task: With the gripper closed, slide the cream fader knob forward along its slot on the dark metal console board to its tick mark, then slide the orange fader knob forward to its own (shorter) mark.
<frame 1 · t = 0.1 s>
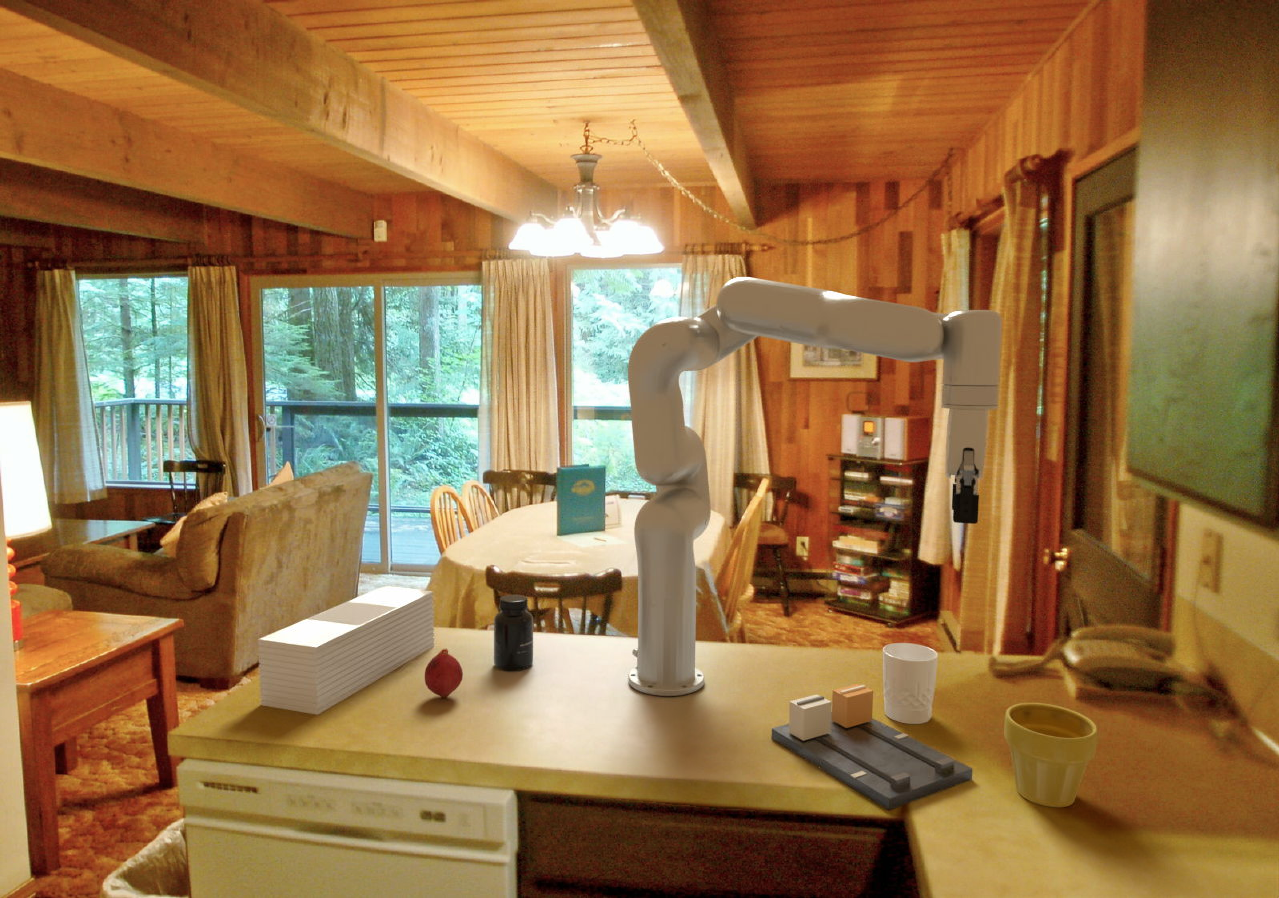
hand: (964, 516, 122), 31 cm above the kitchen counter, tool pointing down, fingers open, 9 cm apart
white cup: (907, 716, 128), on the kitchen counter
fader a: (810, 715, 118), point 4 cm above the kitchen counter, slide at 0.0 cm
stack of papers: (355, 675, 144), on the kitchen counter
fader b: (852, 704, 122), point 4 cm above the kitchen counter, slide at 0.0 cm
supplement bottle: (513, 665, 148), on the kitchen counter
onion: (444, 698, 134), on the kitchen counter
plant pot: (1045, 795, 106), on the kitchen counter
console board: (866, 757, 115), on the kitchen counter
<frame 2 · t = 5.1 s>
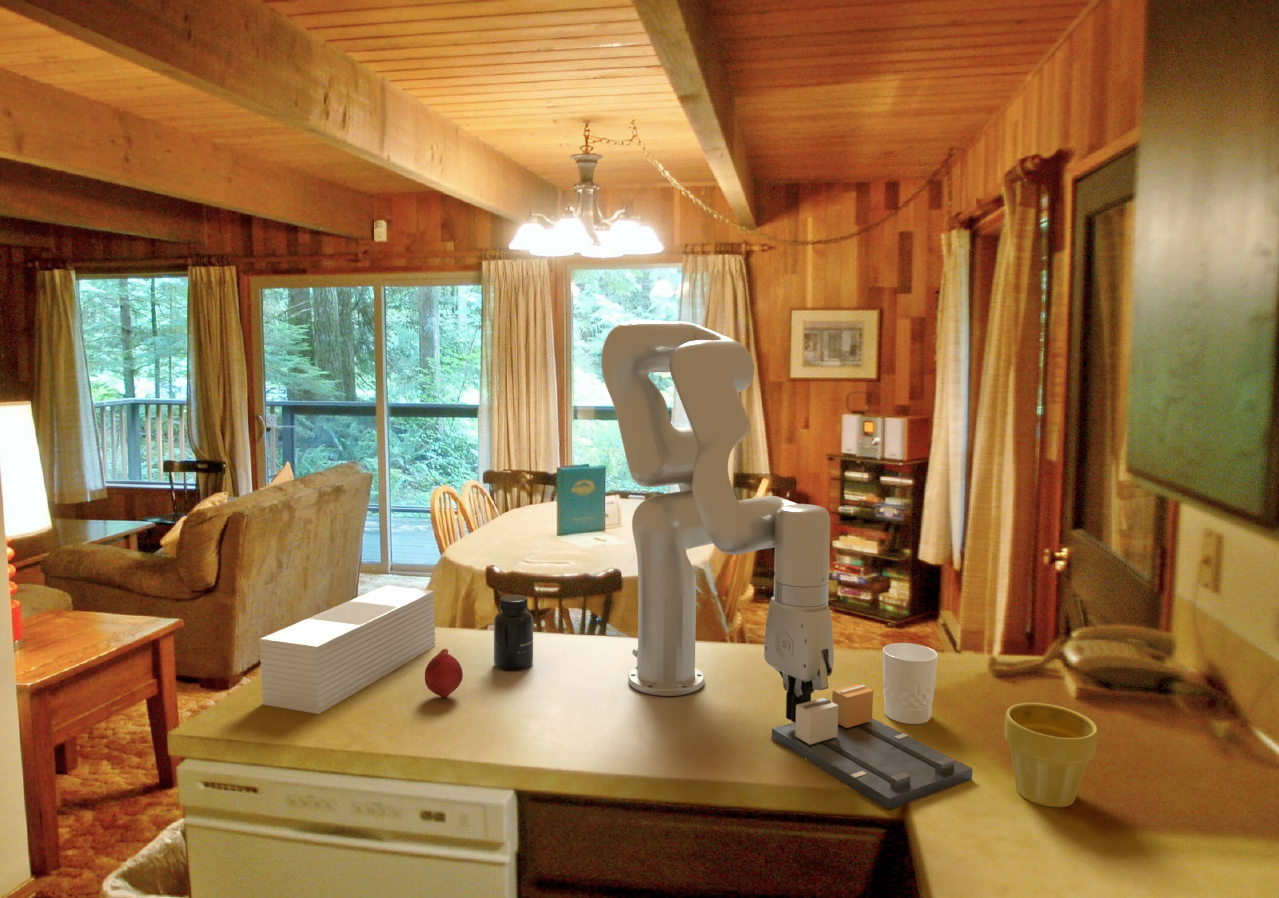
hand: (798, 718, 121), 3 cm above the kitchen counter, tool pointing down, fingers closed
fader a: (816, 719, 117), point 4 cm above the kitchen counter, slide at 1.4 cm, touching gripper
everything else where it was.
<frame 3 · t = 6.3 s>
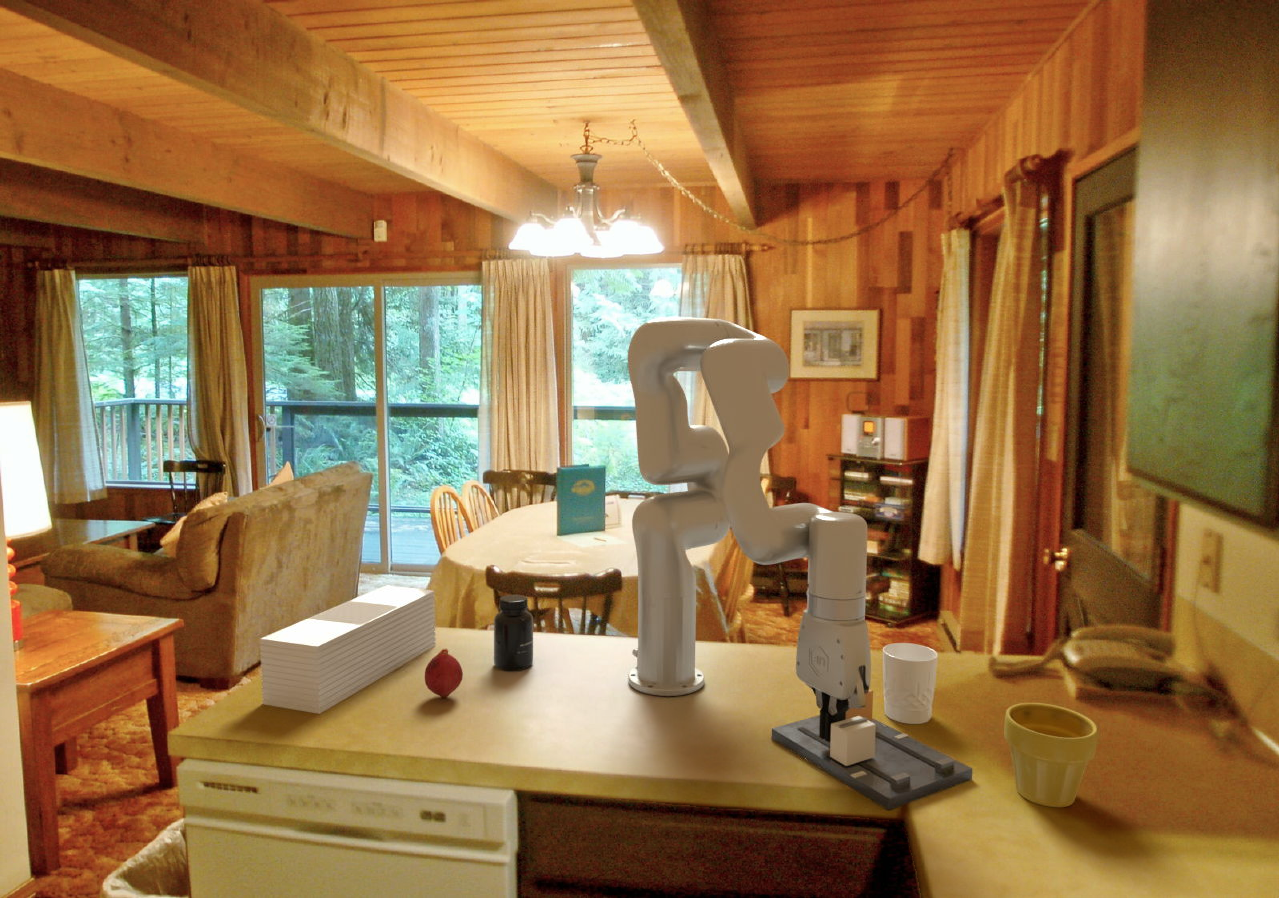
hand: (832, 737, 115), 3 cm above the kitchen counter, tool pointing down, fingers closed
fader a: (852, 739, 111), point 4 cm above the kitchen counter, slide at 8.3 cm, touching gripper
everything else where it was.
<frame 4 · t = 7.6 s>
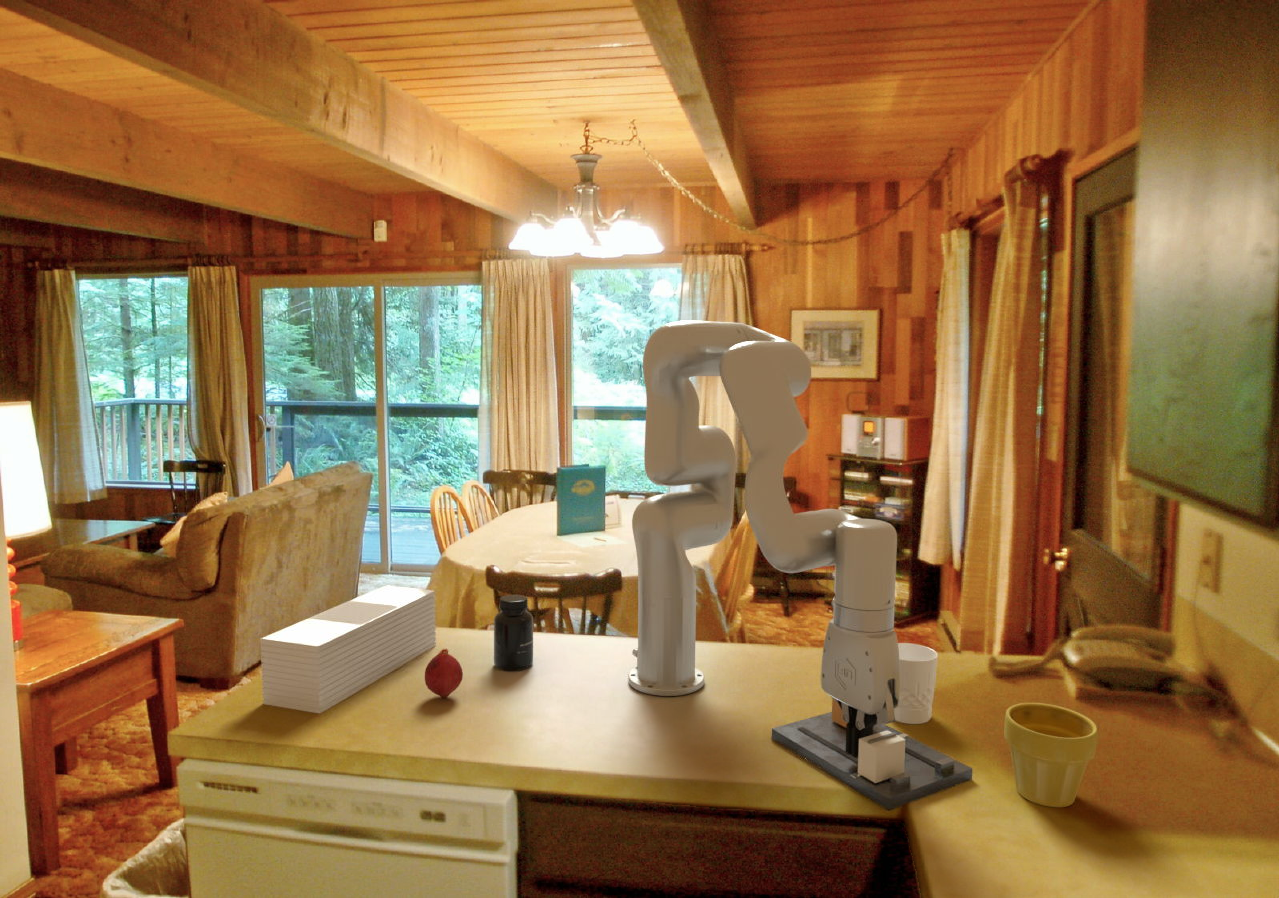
hand: (858, 752, 110), 3 cm above the kitchen counter, tool pointing down, fingers closed
fader a: (881, 754, 107), point 4 cm above the kitchen counter, slide at 13.3 cm, touching gripper
everything else where it was.
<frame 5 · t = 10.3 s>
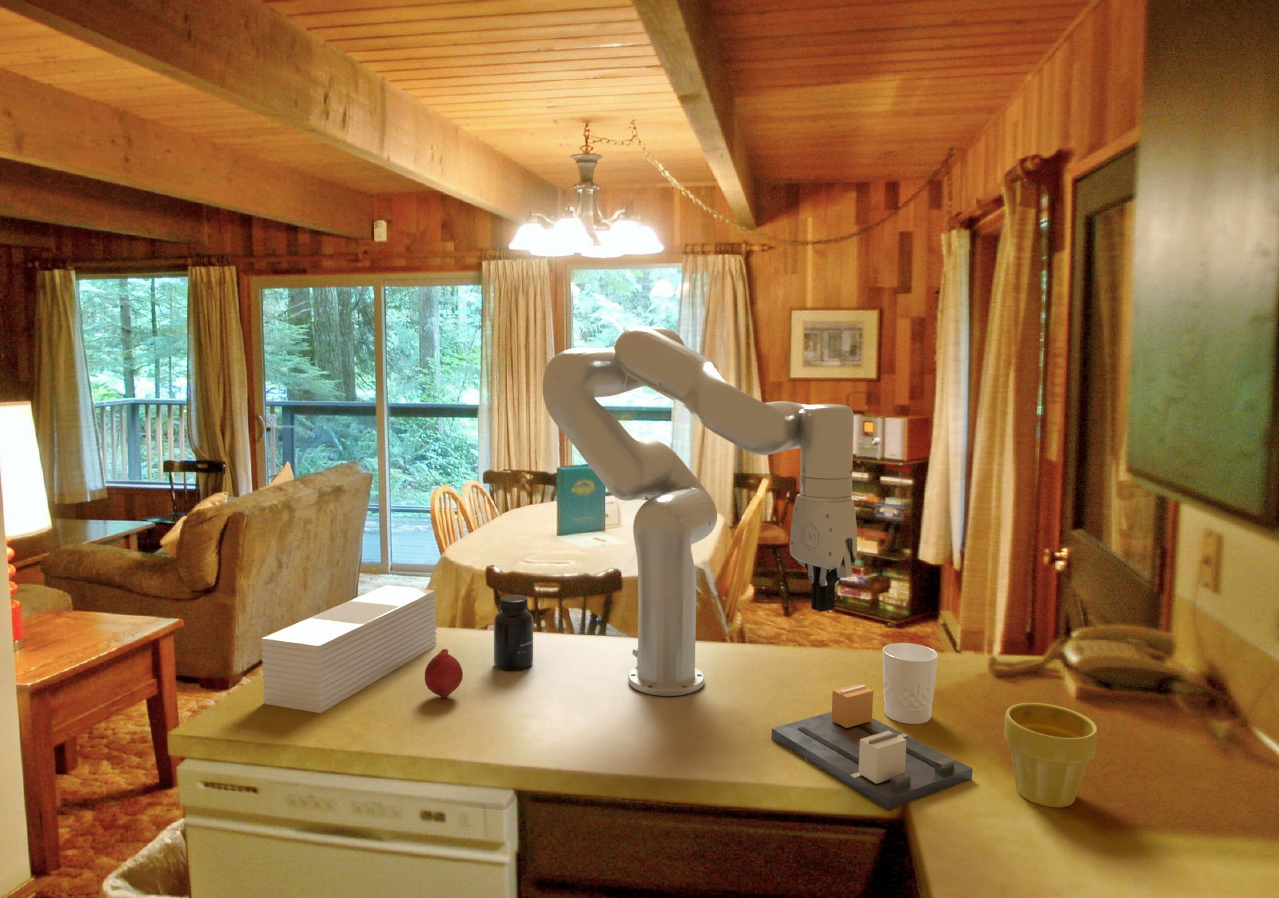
hand: (822, 608, 127), 16 cm above the kitchen counter, tool pointing down, fingers closed
fader a: (882, 755, 107), point 4 cm above the kitchen counter, slide at 13.5 cm
everything else where it was.
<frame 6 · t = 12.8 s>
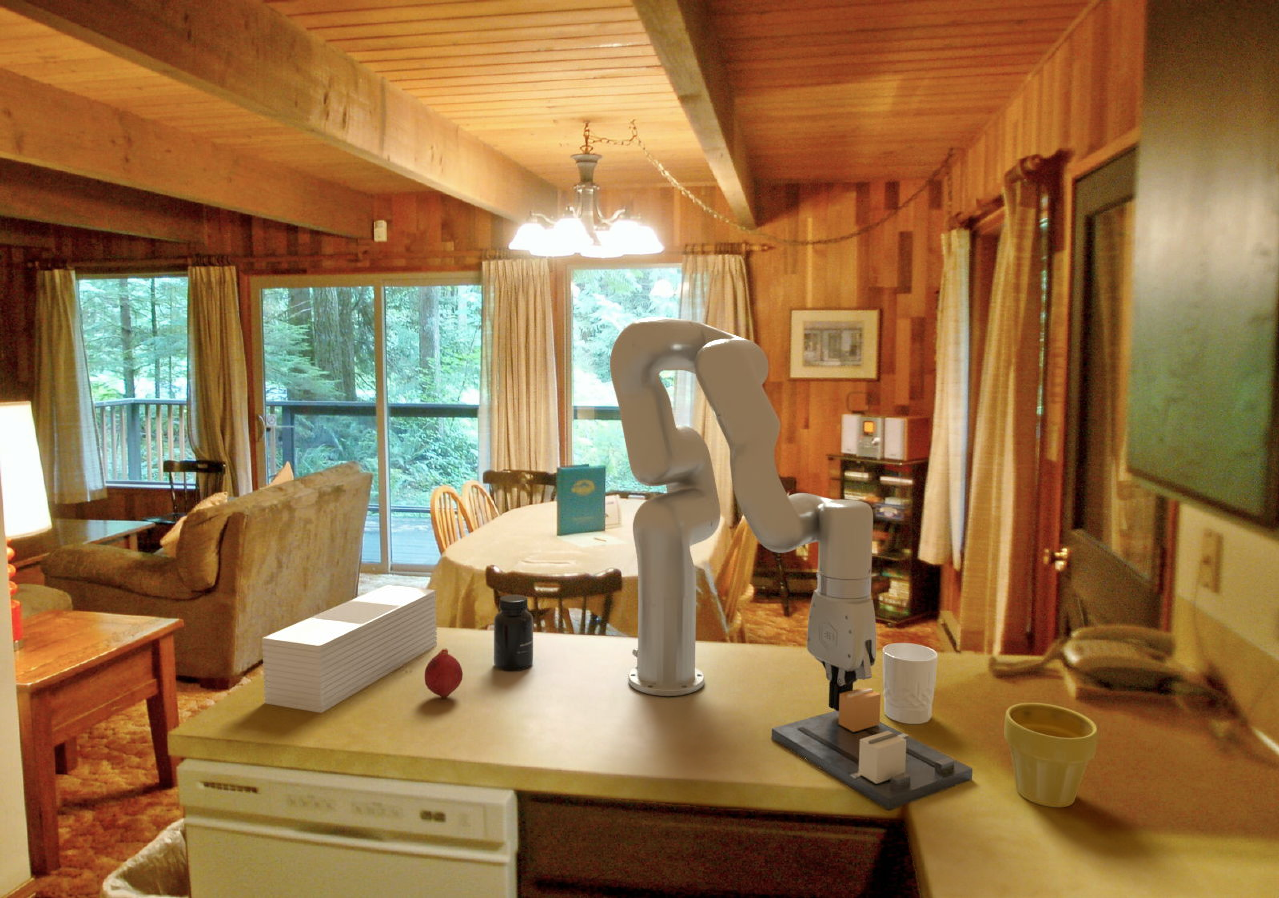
hand: (840, 707, 125), 3 cm above the kitchen counter, tool pointing down, fingers closed
fader b: (859, 707, 121), point 4 cm above the kitchen counter, slide at 1.4 cm, touching gripper
everything else where it was.
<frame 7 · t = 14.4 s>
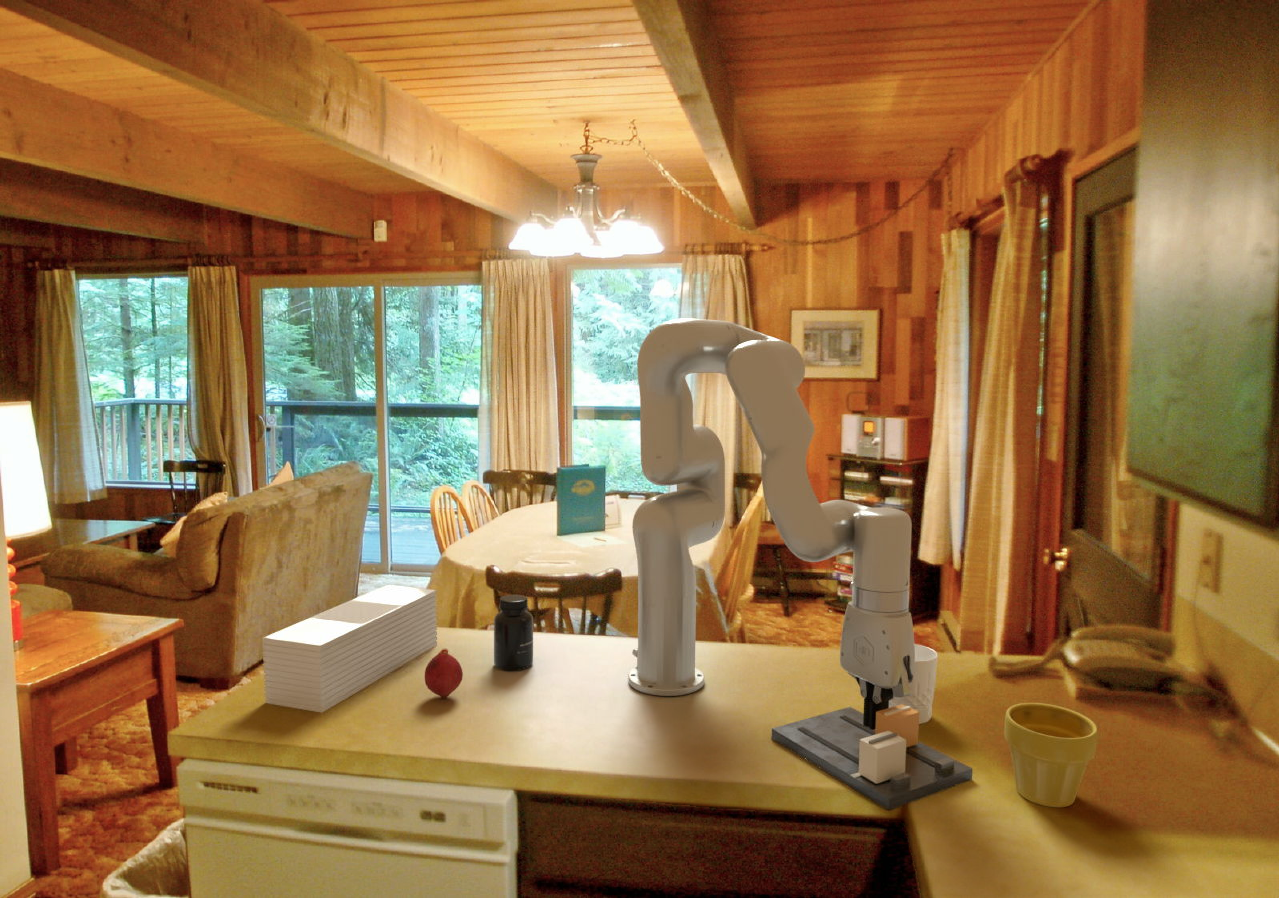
hand: (875, 725, 119), 3 cm above the kitchen counter, tool pointing down, fingers closed
fader b: (897, 726, 115), point 4 cm above the kitchen counter, slide at 8.4 cm, touching gripper
everything else where it was.
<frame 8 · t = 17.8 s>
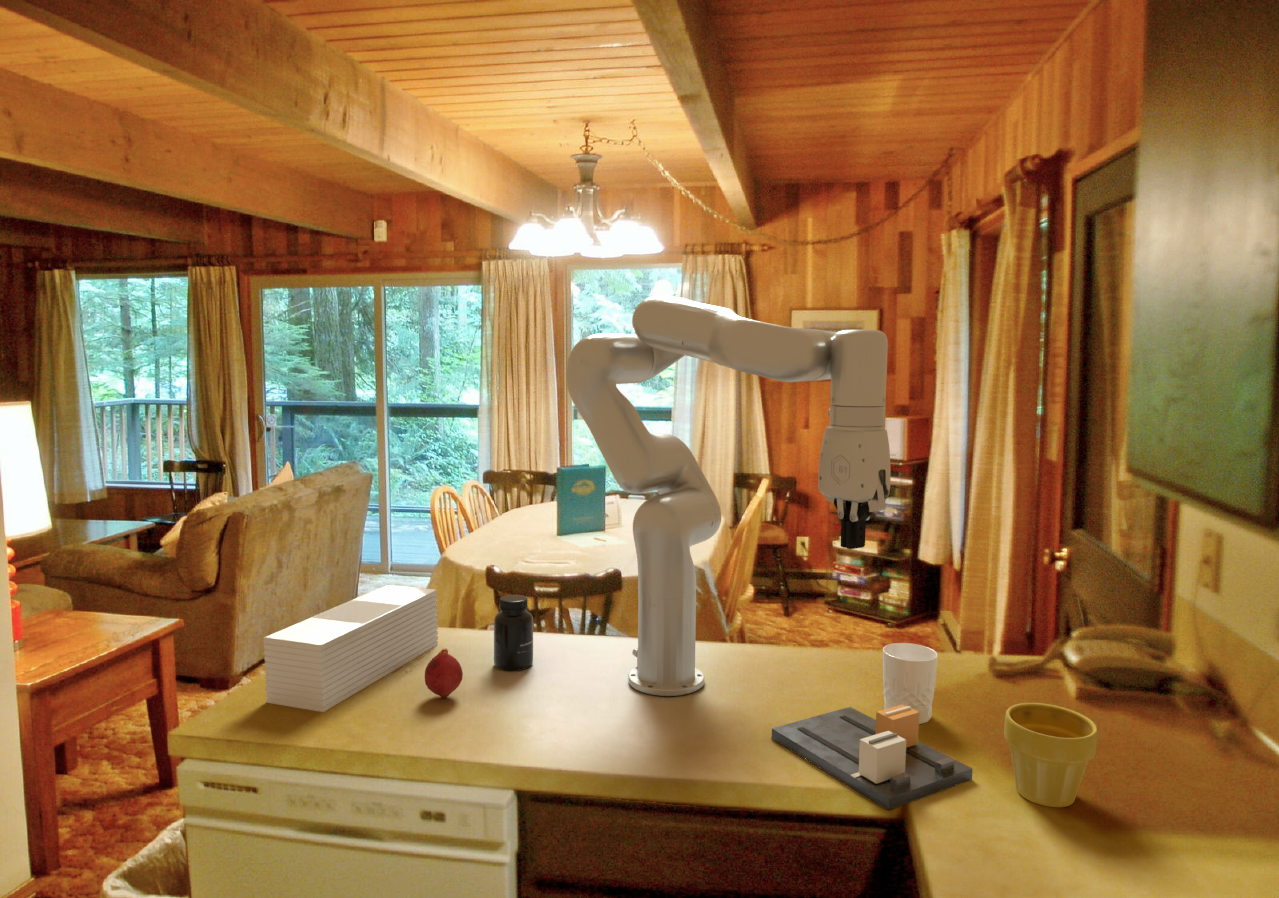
hand: (852, 546, 121), 27 cm above the kitchen counter, tool pointing down, fingers closed
fader b: (897, 726, 115), point 4 cm above the kitchen counter, slide at 8.5 cm
at the end: fader a slide at 13.5 cm; fader b slide at 8.5 cm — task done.
